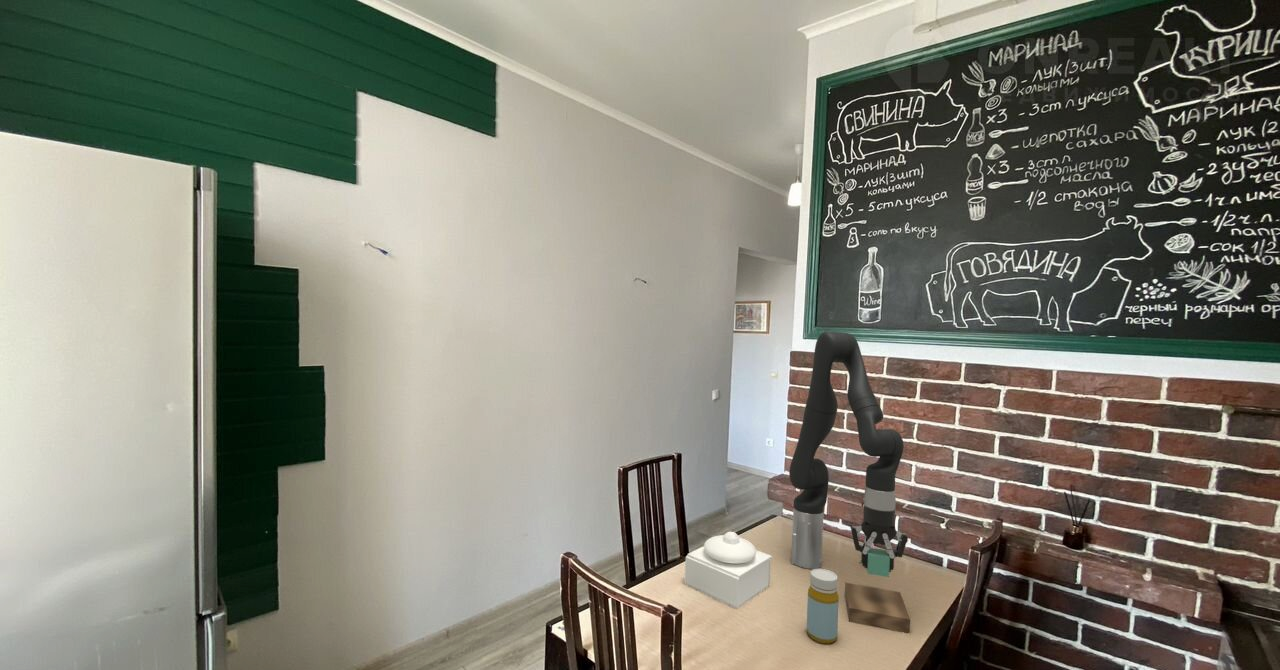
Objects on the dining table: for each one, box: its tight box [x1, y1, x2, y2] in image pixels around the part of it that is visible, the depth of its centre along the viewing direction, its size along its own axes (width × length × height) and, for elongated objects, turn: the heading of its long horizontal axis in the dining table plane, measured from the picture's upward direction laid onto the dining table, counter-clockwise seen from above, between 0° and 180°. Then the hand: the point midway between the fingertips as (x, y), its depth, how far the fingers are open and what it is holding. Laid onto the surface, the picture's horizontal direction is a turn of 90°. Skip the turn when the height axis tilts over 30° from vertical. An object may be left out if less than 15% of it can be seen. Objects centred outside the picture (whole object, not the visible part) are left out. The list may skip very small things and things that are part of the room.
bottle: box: [806, 568, 840, 645], centre depth 122 cm, size 7×7×15 cm
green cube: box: [865, 548, 890, 578], centre depth 133 cm, size 5×5×5 cm
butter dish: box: [684, 531, 773, 610], centre depth 145 cm, size 18×18×16 cm
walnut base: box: [844, 582, 911, 634], centre depth 133 cm, size 14×14×4 cm
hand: (877, 568), depth 133 cm, fingers closed on green cube, 5 cm apart
